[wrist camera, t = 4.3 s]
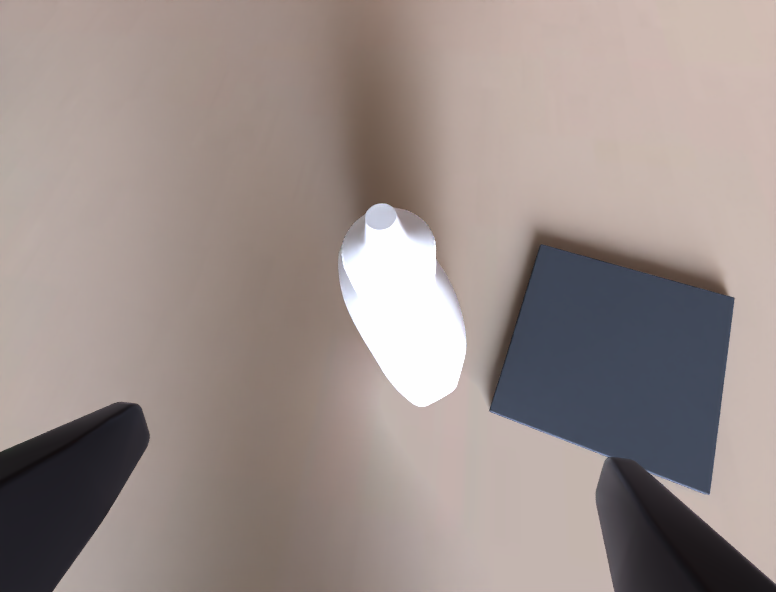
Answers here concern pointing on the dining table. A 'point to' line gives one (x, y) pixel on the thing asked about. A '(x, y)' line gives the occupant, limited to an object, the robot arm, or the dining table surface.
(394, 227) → the eye dropper bottle
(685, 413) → the coaster
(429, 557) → the dining table surface
